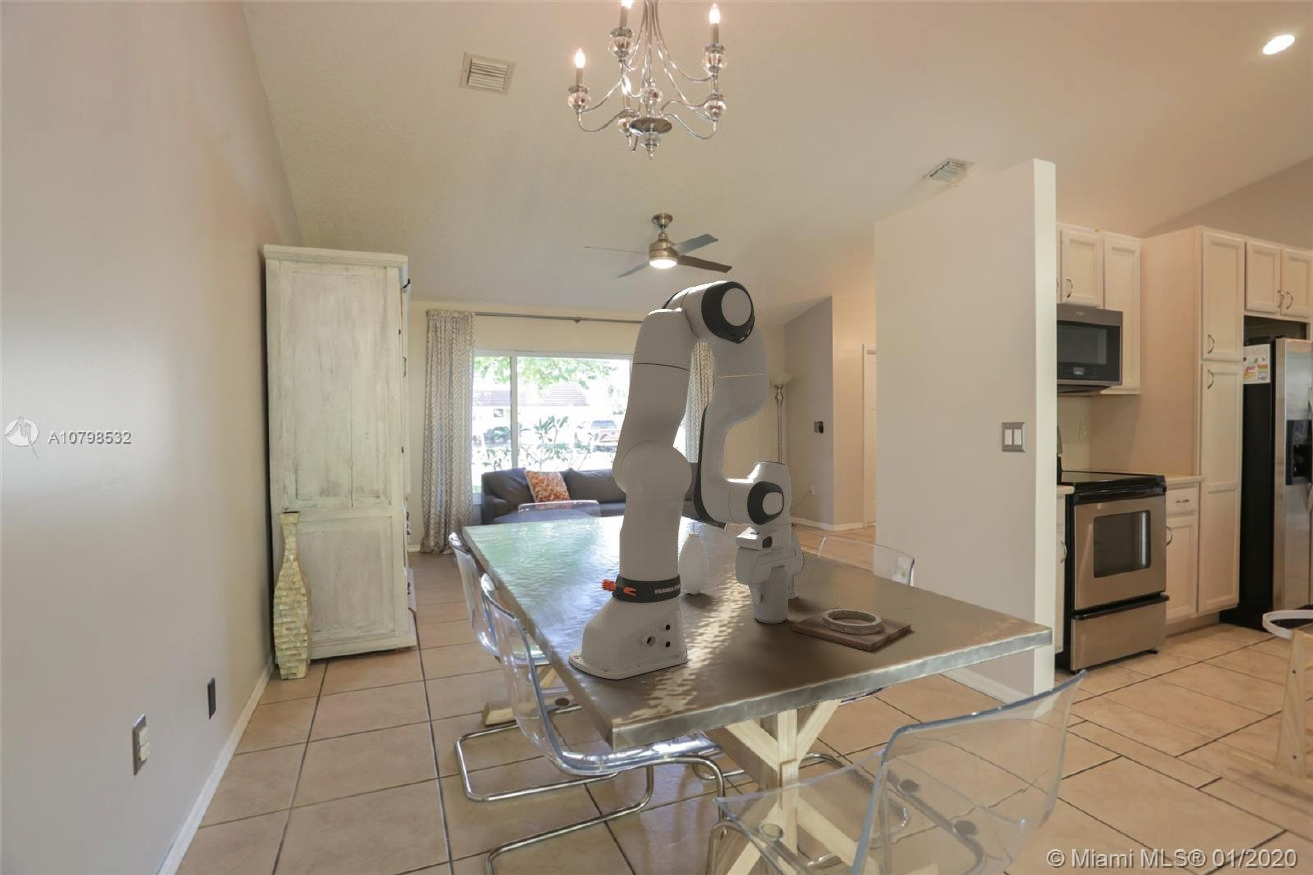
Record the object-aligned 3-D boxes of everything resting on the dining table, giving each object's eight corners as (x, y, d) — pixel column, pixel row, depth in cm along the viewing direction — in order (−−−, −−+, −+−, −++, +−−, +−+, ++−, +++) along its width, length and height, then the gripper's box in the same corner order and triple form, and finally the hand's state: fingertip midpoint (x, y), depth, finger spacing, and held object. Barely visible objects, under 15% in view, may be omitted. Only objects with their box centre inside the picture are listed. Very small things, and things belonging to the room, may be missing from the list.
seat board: (869, 651, 116) (870, 637, 116) (791, 630, 128) (792, 617, 128) (910, 629, 129) (910, 616, 129) (836, 612, 141) (836, 600, 141)
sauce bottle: (676, 589, 161) (676, 520, 160) (705, 589, 161) (706, 519, 161) (680, 598, 153) (680, 524, 153) (711, 597, 154) (712, 524, 153)
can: (785, 614, 139) (786, 561, 139) (789, 625, 132) (790, 568, 132) (752, 613, 140) (752, 560, 140) (754, 624, 132) (754, 568, 132)
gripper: (785, 528, 145) (785, 587, 145) (730, 539, 131) (730, 604, 131) (809, 531, 141) (808, 592, 141) (754, 543, 126) (754, 611, 126)
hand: (770, 598), depth 136 cm, fingers open, 8 cm apart
